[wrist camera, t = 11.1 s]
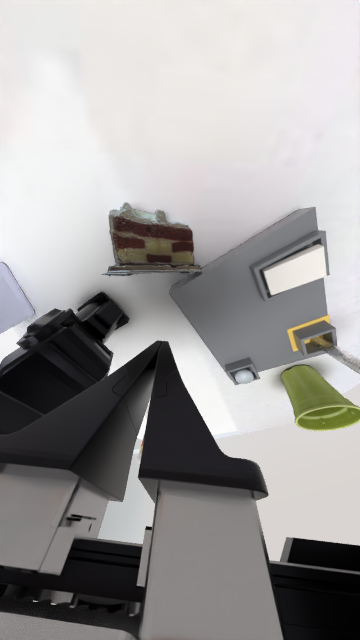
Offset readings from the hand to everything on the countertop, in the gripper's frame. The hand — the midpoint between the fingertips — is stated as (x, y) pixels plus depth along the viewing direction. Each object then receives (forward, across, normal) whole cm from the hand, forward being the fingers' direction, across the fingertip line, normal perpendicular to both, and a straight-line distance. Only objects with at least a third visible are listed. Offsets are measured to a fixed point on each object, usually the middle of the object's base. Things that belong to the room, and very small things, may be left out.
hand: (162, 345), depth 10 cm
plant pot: (+13, +26, -18) cm, 34 cm away
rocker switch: (+9, +13, +4) cm, 16 cm away
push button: (+10, +13, -15) cm, 22 cm away
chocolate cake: (+14, -3, +5) cm, 15 cm away
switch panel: (+13, +12, -5) cm, 18 cm away
